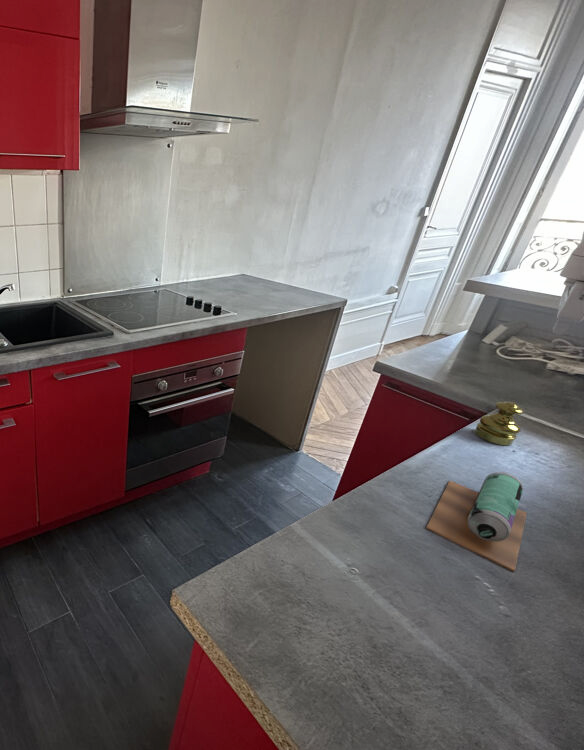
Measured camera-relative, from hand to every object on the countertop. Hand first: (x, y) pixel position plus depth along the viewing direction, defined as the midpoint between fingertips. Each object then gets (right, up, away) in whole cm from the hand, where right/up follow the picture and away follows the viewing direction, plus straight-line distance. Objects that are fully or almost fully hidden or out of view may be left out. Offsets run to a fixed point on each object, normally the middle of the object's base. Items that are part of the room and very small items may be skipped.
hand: (557, 332), depth 93 cm
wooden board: (-33, -37, -15) cm, 52 cm away
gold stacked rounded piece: (-4, -26, +11) cm, 28 cm away
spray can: (-23, -32, -10) cm, 40 cm away
